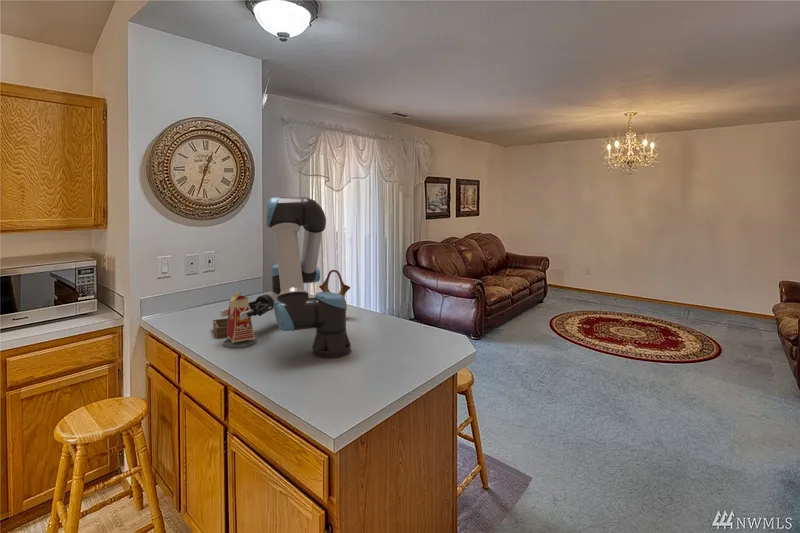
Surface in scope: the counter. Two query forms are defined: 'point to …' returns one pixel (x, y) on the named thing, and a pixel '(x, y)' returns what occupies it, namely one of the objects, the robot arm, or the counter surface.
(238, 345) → the slate coaster
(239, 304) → the milk carton
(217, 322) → the walnut cradle
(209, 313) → the counter surface
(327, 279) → the brown handbag
